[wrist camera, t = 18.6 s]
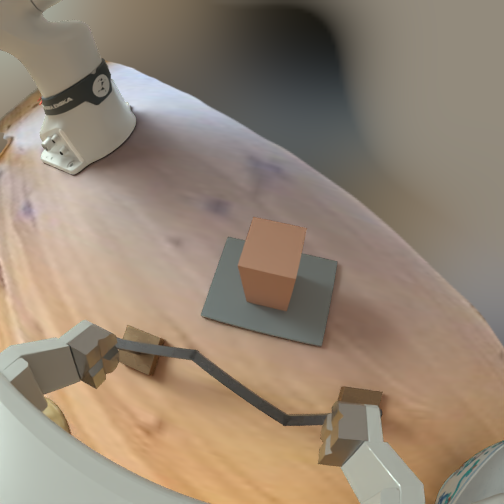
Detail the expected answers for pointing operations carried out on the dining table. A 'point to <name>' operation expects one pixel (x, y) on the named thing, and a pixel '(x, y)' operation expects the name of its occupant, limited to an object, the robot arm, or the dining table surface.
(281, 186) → the dining table surface
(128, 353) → the zigzag wire
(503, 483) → the chinaware
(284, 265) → the brick block
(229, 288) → the slate tile
